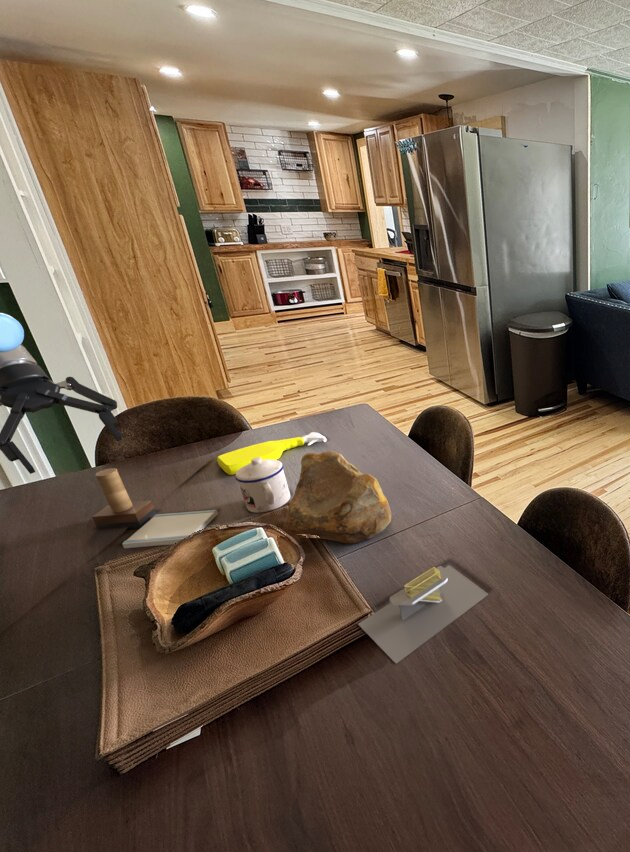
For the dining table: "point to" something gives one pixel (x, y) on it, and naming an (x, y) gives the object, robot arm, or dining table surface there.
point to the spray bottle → (263, 451)
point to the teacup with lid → (263, 485)
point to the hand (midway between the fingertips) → (78, 454)
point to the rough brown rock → (336, 501)
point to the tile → (169, 528)
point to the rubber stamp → (120, 504)
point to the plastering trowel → (421, 611)
